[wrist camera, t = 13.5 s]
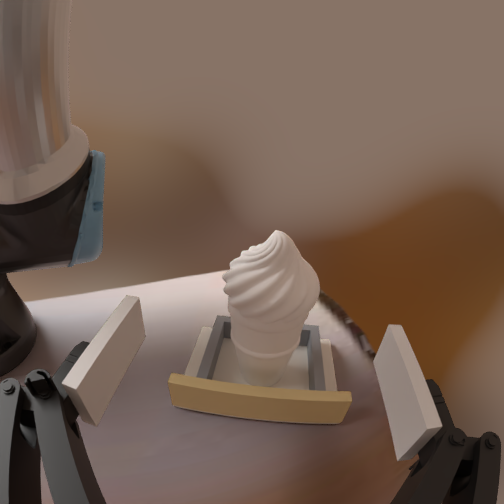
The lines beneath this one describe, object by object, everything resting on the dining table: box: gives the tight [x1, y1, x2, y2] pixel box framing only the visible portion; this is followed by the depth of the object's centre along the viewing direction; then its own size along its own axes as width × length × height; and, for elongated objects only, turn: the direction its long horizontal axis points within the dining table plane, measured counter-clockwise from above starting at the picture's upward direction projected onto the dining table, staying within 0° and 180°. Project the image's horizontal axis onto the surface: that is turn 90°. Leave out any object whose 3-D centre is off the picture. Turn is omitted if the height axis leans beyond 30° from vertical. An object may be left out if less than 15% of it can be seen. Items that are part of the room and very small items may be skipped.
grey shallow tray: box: [168, 315, 352, 424], centre depth 29 cm, size 13×16×4 cm
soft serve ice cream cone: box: [222, 230, 320, 387], centre depth 26 cm, size 8×8×16 cm
